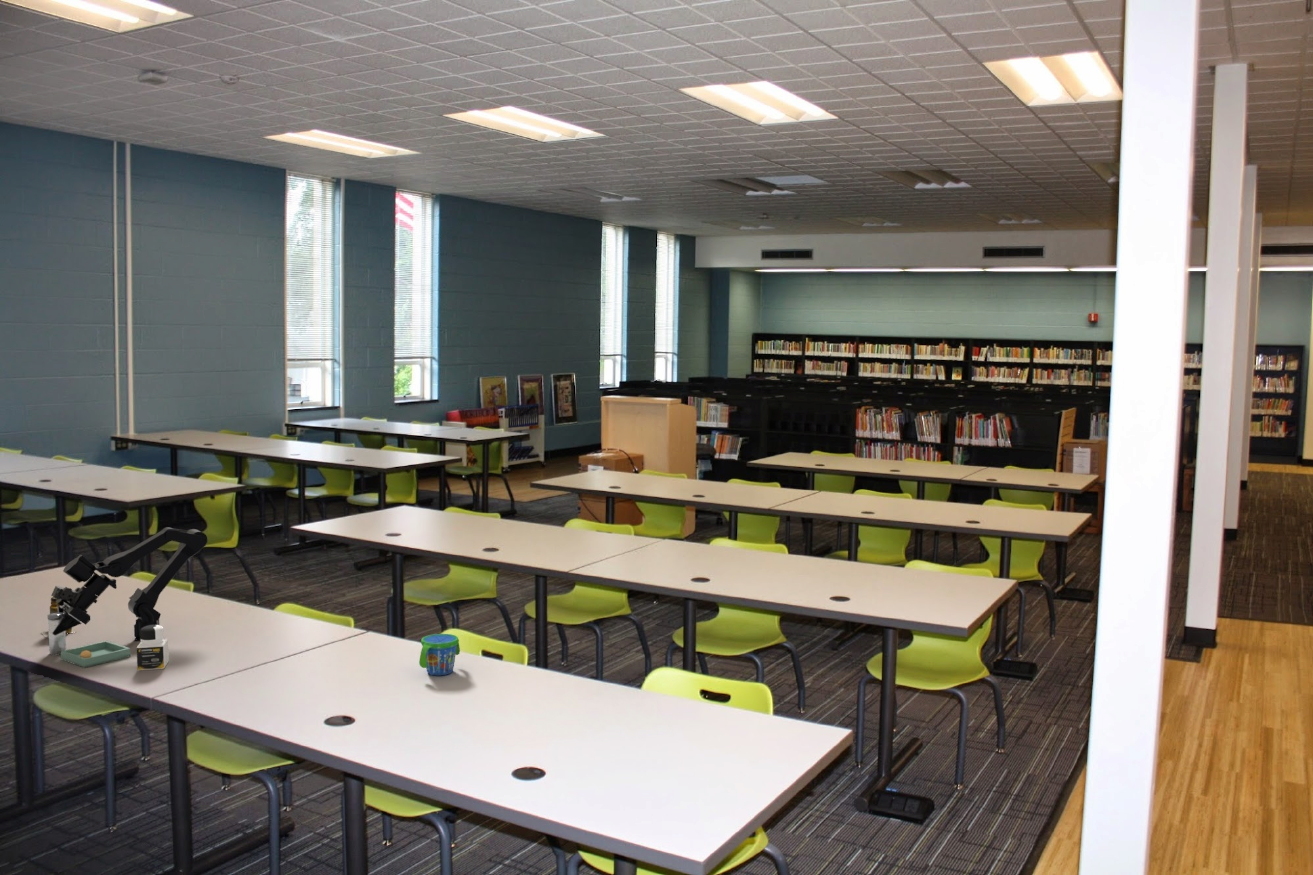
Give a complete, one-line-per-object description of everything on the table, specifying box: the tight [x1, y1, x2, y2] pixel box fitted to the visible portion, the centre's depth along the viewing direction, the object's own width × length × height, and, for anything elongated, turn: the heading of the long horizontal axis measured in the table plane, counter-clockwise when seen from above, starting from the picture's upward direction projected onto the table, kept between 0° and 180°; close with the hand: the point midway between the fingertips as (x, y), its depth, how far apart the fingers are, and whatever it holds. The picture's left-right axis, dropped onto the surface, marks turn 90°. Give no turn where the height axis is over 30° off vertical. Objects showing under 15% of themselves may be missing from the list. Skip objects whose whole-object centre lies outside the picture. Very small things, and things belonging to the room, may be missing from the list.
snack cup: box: [418, 633, 461, 676], centre depth 296 cm, size 16×10×10 cm
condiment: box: [40, 596, 76, 638], centre depth 331 cm, size 7×8×12 cm
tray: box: [60, 640, 132, 669], centre depth 306 cm, size 14×14×2 cm
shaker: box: [47, 613, 67, 656], centre depth 310 cm, size 5×5×12 cm
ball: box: [80, 650, 92, 658], centre depth 302 cm, size 3×3×3 cm
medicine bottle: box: [136, 624, 169, 671], centre depth 299 cm, size 7×7×12 cm
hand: (51, 632), depth 309 cm, fingers open, 5 cm apart
